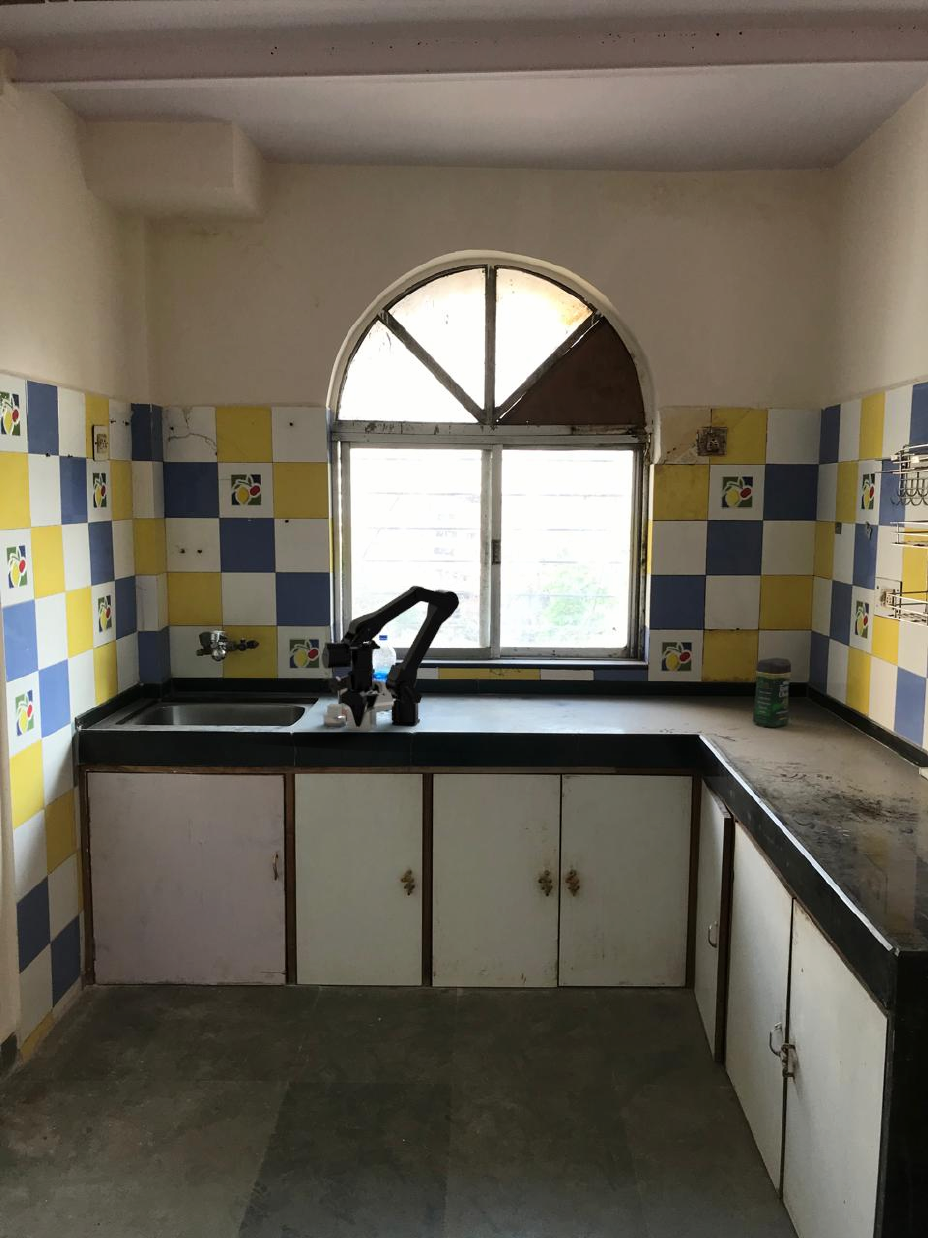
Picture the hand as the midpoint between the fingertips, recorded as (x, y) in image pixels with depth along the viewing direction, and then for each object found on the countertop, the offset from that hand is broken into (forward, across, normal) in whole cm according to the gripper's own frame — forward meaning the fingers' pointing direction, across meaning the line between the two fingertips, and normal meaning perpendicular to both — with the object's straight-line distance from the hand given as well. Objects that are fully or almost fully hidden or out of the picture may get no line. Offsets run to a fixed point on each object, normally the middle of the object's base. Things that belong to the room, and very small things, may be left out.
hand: (361, 723), depth 259 cm
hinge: (+1, -21, -6) cm, 22 cm away
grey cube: (+1, 0, 0) cm, 1 cm away
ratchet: (+1, -4, -8) cm, 9 cm away
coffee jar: (+1, -32, +108) cm, 113 cm away
